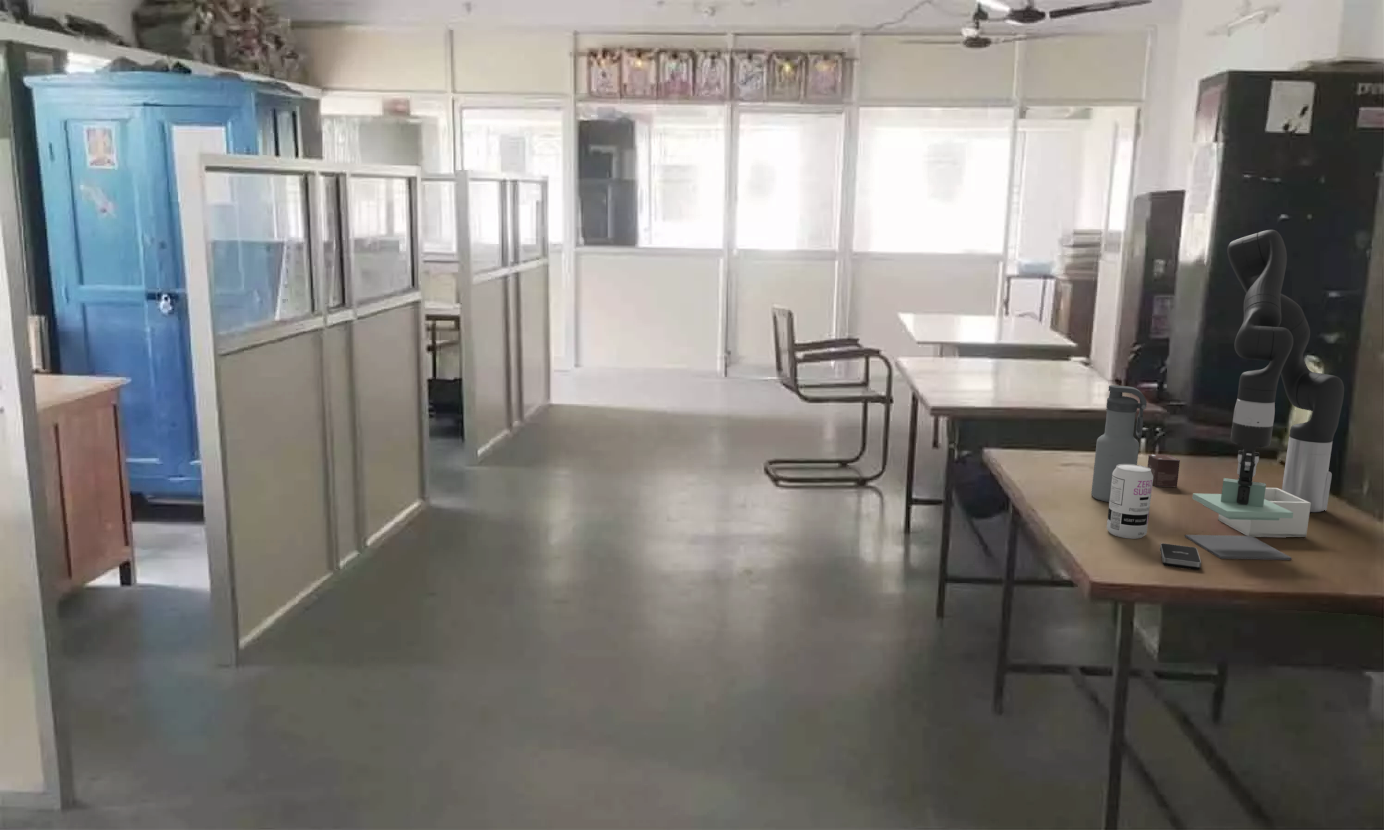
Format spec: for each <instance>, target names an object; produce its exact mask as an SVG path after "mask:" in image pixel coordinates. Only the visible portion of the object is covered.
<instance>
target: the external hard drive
mask: <svg viewBox="0 0 1384 830" xmlns="http://www.w3.org/2000/svg"><path fill="white" fill-rule="evenodd" d="M1159 553H1160V556H1161V557H1160V558H1161V561H1162V562H1161V563H1162V565H1163V566H1164V567H1169V568H1178V569H1186V570H1193V571H1200V570H1201V567H1202V566H1201V565H1202V561H1201V557H1200V555H1199V551H1198V548H1197V547H1195V546H1187V545H1181V544H1179V545H1177V544H1172V543H1162V542H1161V543H1160V547H1159Z"/></svg>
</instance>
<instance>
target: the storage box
mask: <svg viewBox="0 0 1384 830" xmlns="http://www.w3.org/2000/svg"><path fill="white" fill-rule="evenodd" d="M1264 499H1266V500H1268V501H1270V502H1272V503H1274V504H1276V505H1278V506H1280V507H1282V508H1285V509H1287V510H1289V511H1291V512H1293V518H1279V520H1234V519H1228V518H1226V517H1224V516H1222V515H1220V514H1218V518H1217V520H1218V521H1219V522H1220V523H1223V524H1225V525H1227V526H1228V527H1230V528H1232V529H1234V530H1235V531H1238V532H1239V533H1241V534H1243V535H1244V536H1253V537H1254V538H1286V537H1306V538H1307V533H1308V525H1309V521H1310V513H1311V512H1310V506H1311V503H1310V502H1308V501H1305V500H1303V499H1301V498H1299V497H1296V496H1294V495H1292V494H1290V493H1287V492H1285V491H1283V490H1282V488H1278V487H1266V489H1265V496H1264Z"/></svg>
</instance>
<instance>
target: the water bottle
mask: <svg viewBox="0 0 1384 830" xmlns="http://www.w3.org/2000/svg"><path fill="white" fill-rule="evenodd" d="M1108 391H1109V394H1108V398H1107V399H1106V407H1105V410H1106V419H1105V426H1104V433H1103V434H1102V435H1100V436H1099V437H1097V439H1096V447H1095V454H1094V455H1095V456H1094V463H1093V475H1092V484H1091V492H1090V493H1091V496H1092V497H1093V498H1094V499H1096V500H1098V501H1102V502H1105V503H1109V501H1110V492H1111V483H1112V474H1113V471H1114V470H1115V468H1116V466H1117V465H1119V464H1134V465H1138V460H1139V459H1138V458H1139V450H1140V443H1139V441H1138V439H1136V438H1135V437H1134V432H1135V434H1136V437H1137V438H1140V439H1141V438H1142V436H1143V427H1144V411H1145V410H1146V409H1147V399H1146V397H1145V395H1144V394H1143V393H1142V391H1141V390H1140V389H1137V388H1136V387H1133V386H1127V385H1126V386H1124V385H1115V384H1113V385H1109V386H1108ZM1123 393H1124V394H1132V395H1135V396H1136V397H1137V398H1138V399H1139V401H1138V400H1137V399H1136V398H1133V397H1131V396H1125V395H1123ZM1138 409H1139V411H1138ZM1137 412H1138V414H1137ZM1136 414H1137V419H1136ZM1135 420H1136V430H1135ZM1134 430H1135V431H1134Z"/></svg>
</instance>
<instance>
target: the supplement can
mask: <svg viewBox="0 0 1384 830" xmlns="http://www.w3.org/2000/svg"><path fill="white" fill-rule="evenodd" d="M1152 483H1153V475H1152V472H1151V469H1150V468H1148V466H1144V465H1140V464H1137V465H1134V464H1119V465H1117V466H1116V468H1115V470H1114V471H1113V474H1112V483H1111V492H1110V501H1109V502H1108V513H1107V520H1106V530H1107V531H1108V532H1109V534H1111V535H1113V536H1114V537H1115V536H1116V537H1119V538H1123V539H1134V540H1135V539H1136V540H1137V539H1141V538H1143V537H1144V536H1146V535H1147V533H1148V524H1149V516H1150V508H1151V499H1152V492H1153V491H1152V489H1153V485H1152Z"/></svg>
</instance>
